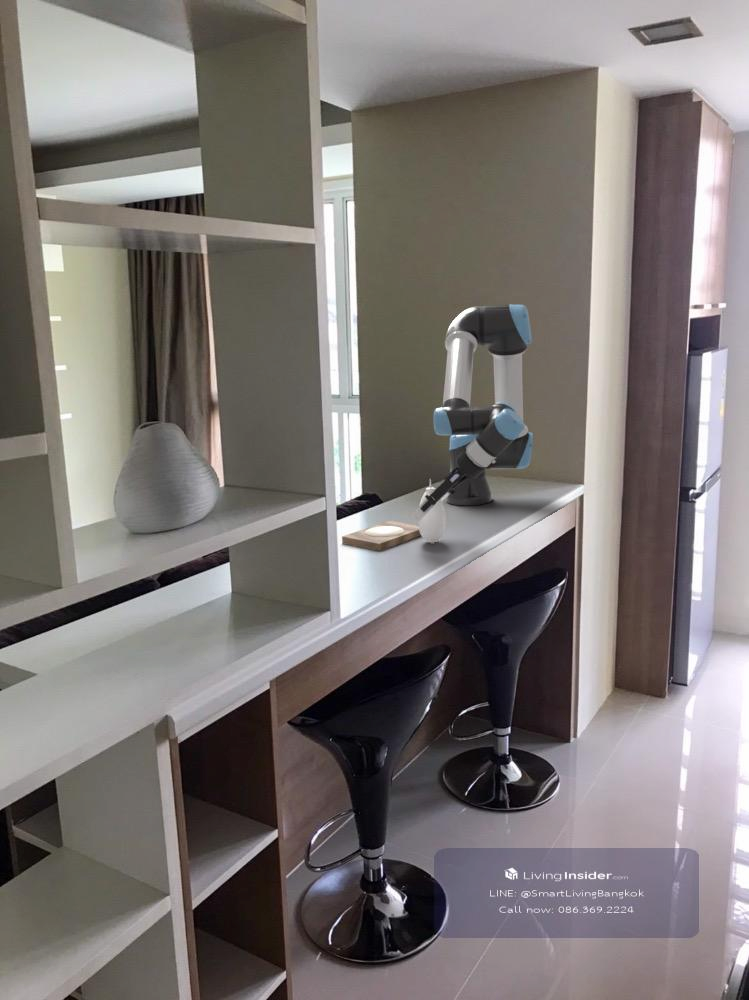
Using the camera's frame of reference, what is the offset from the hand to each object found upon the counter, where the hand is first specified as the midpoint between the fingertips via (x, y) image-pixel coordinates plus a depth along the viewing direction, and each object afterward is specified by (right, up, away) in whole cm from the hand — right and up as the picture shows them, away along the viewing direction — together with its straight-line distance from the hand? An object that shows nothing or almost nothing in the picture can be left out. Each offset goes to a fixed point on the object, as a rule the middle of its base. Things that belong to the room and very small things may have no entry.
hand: (423, 511), depth 227 cm
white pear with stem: (+3, -9, +1) cm, 9 cm away
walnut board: (-10, -8, +7) cm, 15 cm away
